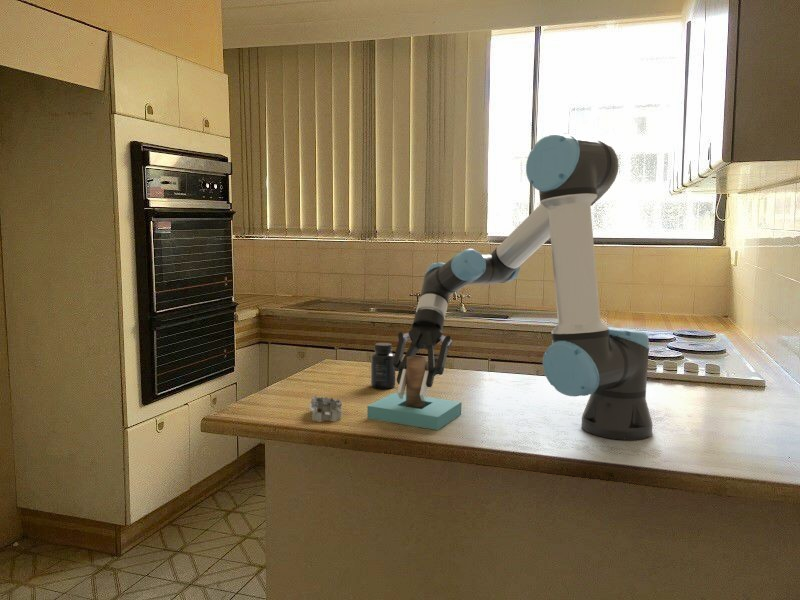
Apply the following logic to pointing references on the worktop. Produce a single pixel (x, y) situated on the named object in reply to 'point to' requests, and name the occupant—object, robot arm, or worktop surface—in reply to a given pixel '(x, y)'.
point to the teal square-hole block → (414, 411)
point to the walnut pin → (414, 381)
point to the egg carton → (325, 409)
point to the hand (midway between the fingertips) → (411, 396)
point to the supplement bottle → (382, 367)
